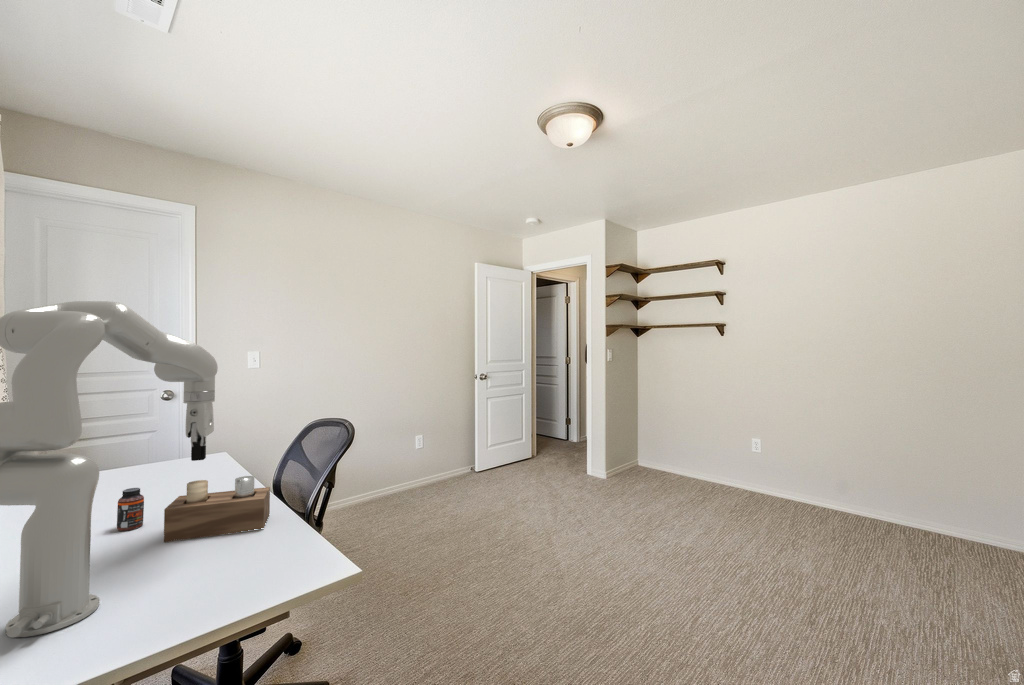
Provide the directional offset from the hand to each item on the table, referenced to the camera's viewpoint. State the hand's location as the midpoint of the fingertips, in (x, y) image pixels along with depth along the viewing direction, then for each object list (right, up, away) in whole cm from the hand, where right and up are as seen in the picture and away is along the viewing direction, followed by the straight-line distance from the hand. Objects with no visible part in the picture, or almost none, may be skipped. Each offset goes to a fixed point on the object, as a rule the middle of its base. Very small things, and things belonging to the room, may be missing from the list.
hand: (198, 459), depth 128 cm
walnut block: (+6, -21, +1) cm, 21 cm away
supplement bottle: (-21, -21, +1) cm, 30 cm away
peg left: (0, -16, -1) cm, 16 cm away
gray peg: (+11, -16, +4) cm, 20 cm away
